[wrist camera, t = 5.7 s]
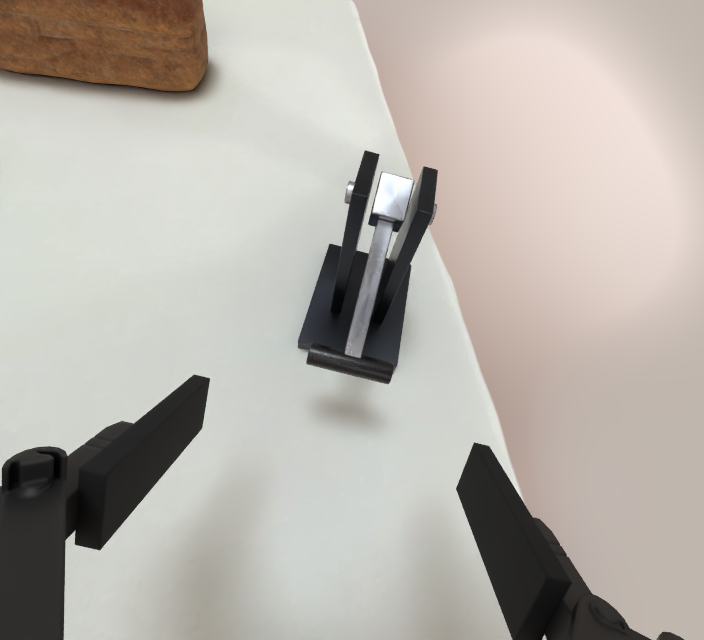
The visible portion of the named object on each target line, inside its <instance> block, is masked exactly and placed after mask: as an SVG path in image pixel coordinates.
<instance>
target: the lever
mask: <svg viewBox="0 0 704 640" xmlns="http://www.w3.org/2000/svg"><path fill="white" fill-rule="evenodd" d="M413 185H414V180H412V179H408V178H405V177H401V176H397V175H393V174H390V173H386V172H381V175H380V179H379V183H378V187H377V191H376V195H375V199H374V203H373V207H372V210H371V214H370V218H369V222H368V224H369V225H371V226H375V227H376V228H375V232H374V236H373V240H372V244H371V247H370V251H369V255H368V259H367V263H366V267H365V271H364V275H363V279H362V283H361V287H360V291H359V295H358V299H357V303H356V307H355V311H354V315H353V319H352V323H351V327H350V331H349V335H348V339H347V343H346V346H345V350H340V349H336V348H332V347H328V346H324V345H320V344H316V343H312V344H311V346H310V349H309V353H308V357H307V362H306V363H307V364H308V365H312V366H316V367H320V368H324V369H328V370H332V371H336V372H340V373H344V374H348V375H352V376H356V377H360V378H364V379H368V380H372V381H376V382H380V383H384V384H389V383H390V381H391V378H392V374H393V368H394V365H393V363H392V362H388V361H384V360H380V359H376V358H372V357H368V356H364V355H362V351H363V347H364V343H365V339H366V335H367V331H368V327H369V323H370V319H371V315H372V311H373V307H374V303H375V299H376V295H377V291H378V287H379V283H380V279H381V275H382V271H383V266H384V262H385V258H386V254H387V250H388V246H389V242H390V238H391V234H392V231H394V232H398V231H399V230H400V228H401V226H402V224H403V223H404V221H405V217H406V213H407V209H408V205H409V201H410V197H411V193H412V189H413Z"/></svg>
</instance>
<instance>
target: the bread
mask: <svg viewBox="0 0 704 640" xmlns="http://www.w3.org/2000/svg"><path fill="white" fill-rule="evenodd" d="M207 62H208V46H207V32H206V25H205V18H204V12H203V2H202V0H0V68H2V69H5V70H9V71H14V72H19V73H28V74H41V75H49V76H57V77H64V78H70V79H76V80H81V81H86V82H93V83H106V84H121V85H130V86H138V87H145V88H151V89H157V90H162V91H188V90H193V88H194V87H195V86H196V85H197V84H198V83H199V82H200V80H201V79H202V77H203V76H204V73H205V71H206V68H207Z"/></svg>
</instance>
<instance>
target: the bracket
mask: <svg viewBox="0 0 704 640" xmlns="http://www.w3.org/2000/svg"><path fill="white" fill-rule="evenodd" d="M378 159H379V154H376V153H373V152H369V151H365V152H364V155H363V158H362V161H361V165H360V168H359V171H358V174H357V177H356V181H355V182H351V181H349V183H348V186H347V190H346V195H345V203H347V204H350V205H349V210H348V216H347V221H346V227H345V232H344V238H343V243H342V247H341V246H337V245H333V244H329V247H328V250H327V253H326V256H325V260H324V263H323V266H322V269H321V272H320V275H319V278H318V281H317V284H316V287H315V290H314V293H313V297H312V300H311V303H310V306H309V309H308V312H307V315H306V318H305V321H304V324H303V327H302V331H301V334H300V337H299V340H298V347H299V348H303V349H307V350H309V349H310V346H311V344H312V343H316V344H320V345H324V346H328V347H332V348H336V349H340V350H345V346H346V343H347V339H348V335H349V331H350V327H351V323H352V319H353V315H354V311H355V307H356V303H357V299H358V295H359V291H360V287H361V283H362V279H363V275H364V271H365V267H366V263H367V259H368V255H369V254H368V253H364V252H360V251H356V250H357V246H358V242H359V238H360V234H361V230H362V225H363V221H364V217H365V213H366V209H367V205H368V200H369V196H370V192H371V188H372V184H373V180H374V175H375V171H376V167H377V163H378ZM437 173H438V170H436V169H432V168H428V167H423V169H422V172H421V174H420V177H419V180H418V182H417V185H416V188H415V190H414V193H413V196H412V198H411V201H410V204H409V206H408V209H407V213H406V217H405V221H404V223H403V224H402V226H401V228H400V230H399V233H398V236H397V238H396V241H395V244H394V246H393V249H392V252H391V254H390V257H389V259H387V258H385V262H384V266H383V271H382V275H381V279H380V283H379V287H378V291H377V295H376V299H375V303H374V307H373V311H372V315H371V319H370V323H369V327H368V331H367V335H366V339H365V343H364V347H363V351H362V355H364V356H368V357H372V358H376V359H380V360H384V361H388V362H392V363H393V365H394V368H393V371H394V369H395V368H396V367H397V363H398V356H399V348H400V341H401V334H402V327H403V320H404V313H405V306H406V299H407V292H408V285H409V277H410V270H411V265H410V263H411V261H412V259H413V256H414V254H415V252H416V250H417V248H418V246H419V244H420V241H421V239H422V237H423V235H424V233H425V231H426V229H427V227H428V225H431V223H432V222H433V219H434V217H435V213H436V209H437V204H434V201H435V192H436V183H437Z"/></svg>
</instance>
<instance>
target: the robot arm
mask: <svg viewBox="0 0 704 640" xmlns="http://www.w3.org/2000/svg"><path fill="white" fill-rule="evenodd" d="M209 382H210V378H206V377H202V376H198V375H193V376H192V377H191V378H189V379H188V380H187V381H186V382H185V383H183V384H182V385H181V386H180V387H178V388H177V389H176V390H175V391H174V392H172V393H171V394H170V395H169V396H167V397H166V398H165V399H164V400H162V401H161V402H160V403H159V404H158V405H156V406H155V407H154V408H153V409H151V410H150V411H149V412H148V413H147V414H145V415H144V416H143V417H142V418H140V419H139V420H138V421H137V422H136V423H134V424H132V423H128V422H124V421H121V422H118V423H116V424H113V425H111V426H108V427H106V428H105V429H104V430H102V431H101V432H100V433H98V434H97V435H95V437H94V438H91V439H90V440H89V441H87V442H86V443H85V445H82V446H81V447H79V448H78V449H77V450H75V451H74V452H73V453H71V454H70V455H69V456H67V454H66V451H64V450H62V449H60V448H57V447H50V446H48V447H37V448H33V449H29V450H25V451H23V452H20V453H18V454H16V455H14V456H13V457H11V458H10V459H9V460H7V461H6V462H5V464H4V465H3V467H2V486H0V640H64V586H65V540H66V539H67V538H68V537H69V536H70V535H71V534H72V533H73V532H74V531H75V530H76V533H75V545H79V546H83V547H88V548H92V549H97V550H101V548H102V547H103V546H104V545H105V544H106V543H107V541H108V540H109V539H110V538H111V537H112V535H113V534H114V533H115V532H116V531H117V529H118V528H119V527H120V526H121V525H122V523H123V522H124V521H125V520H126V519H127V517H128V516H129V515H130V514H131V513H132V511H133V510H134V509H135V508H136V507H137V505H138V504H139V503H140V502H141V501H142V500H143V498H144V497H145V496H146V495H147V494H148V492H149V491H150V490H151V489H152V488H153V486H154V485H155V484H156V483H157V482H158V480H159V479H160V478H161V477H162V476H163V474H164V473H165V472H166V471H167V470H168V468H169V467H170V466H171V465H172V464H173V463H174V461H175V460H176V459H177V458H178V457H179V455H180V454H181V453H182V452H183V451H184V449H185V448H186V447H187V446H188V445H189V443H190V442H191V441H192V440H193V439H194V437H195V436H196V435H197V434H198V433H199V431H200V430H201V429H202V426H203V420H204V413H205V407H206V401H207V394H208V388H209ZM456 490H457V492H458V495H459V498H460V500H461V503H462V506H463V509H464V511H465V514H466V517H467V519H468V522H469V525H470V527H471V530H472V533H473V535H474V538H475V541H476V543H477V546H478V549H479V551H480V554H481V557H482V559H483V562H484V565H485V567H486V570H487V573H488V575H489V578H490V581H491V583H492V586H493V589H494V591H495V594H496V597H497V599H498V602H499V605H500V607H501V610H502V613H503V615H504V618H505V621H506V623H507V626H508V629H509V632H510V634H511V637H512V640H542V638H543V636H544V634H545V636H546V638H547V640H651V639H649V638H647V637H645V636H643V635H641V634H639V633H638V632H636V631H634V630H632V629H630V628H629V626H628V625H627V623H626V622H625V620H624V618H623V617H622V616H621V615H620V614H619V613H618V612H617V610H615V608H613V607H612V606H611V605H610V604H609V603H607V602H606V601H605V600H603V599H601V598H600V597H598V596H596V595H593V594H592V593H591V591H590V590H589V588H588V587H587V585H586V584H585V582H584V581H583V579H582V577H581V576H580V574H579V573H578V571H577V570H576V568H575V567H574V565H573V564H572V562H571V560H570V559H569V557H567V555H566V553H565V551H564V550H563V548H562V547H561V546H560V544H559V542H558V540H557V539H556V537H555V536H554V534H553V533H552V531H551V530H550V529H549V528H548V527H547V526H546V525H545V524H544V523H543V522H542V521H541V520H540V519H538V518H533V517H532V516H531V514H530V513H529V511H528V509H527V508H526V506H525V504H524V503H523V501H522V499H521V498H520V496H519V494H518V493H517V491H516V490H515V488H514V486H513V485H512V483H511V481H510V480H509V478H508V476H507V475H506V473H505V471H504V470H503V468H502V467H501V465H500V463H499V462H498V460H497V458H496V457H495V455H494V453H493V452H492V450H491V448H490V447H489V446H486V445H482V444H478V443H474V444H473V447H472V449H471V452H470V455H469V457H468V460H467V462H466V465H465V467H464V470H463V472H462V475H461V478H460V480H459V483H458V485H457V488H456ZM657 640H684V639H682V638H681V637H679V636H677V635H675V634H672V633H670V632H662V633H661V634H660V635H659V637H658V638H657Z"/></svg>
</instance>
